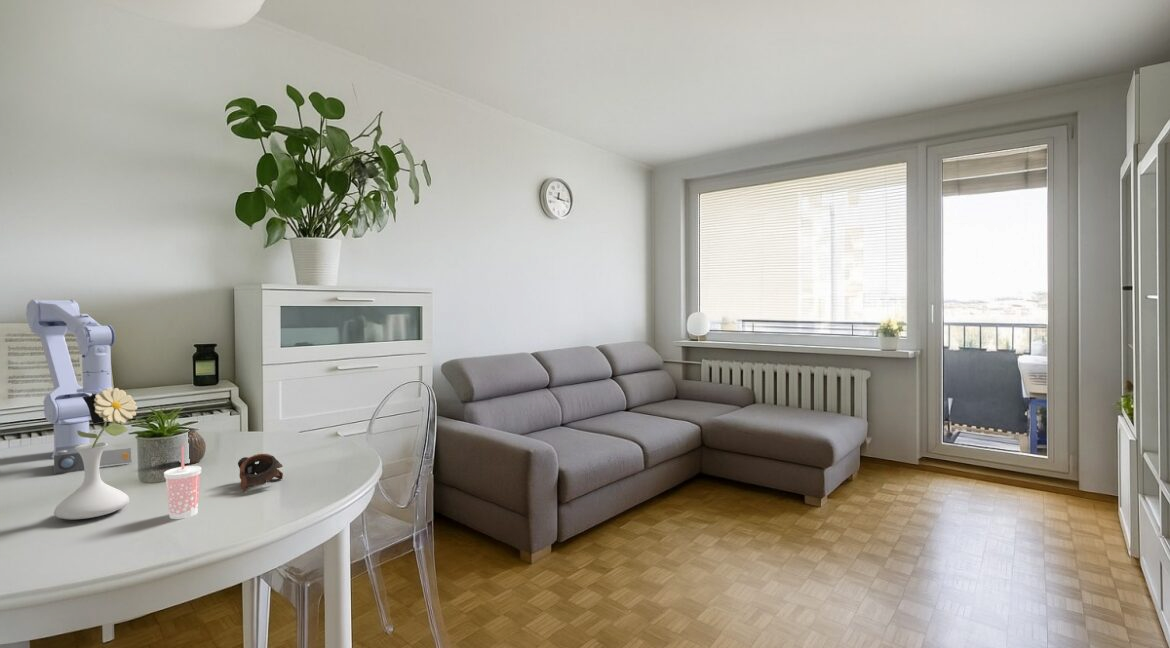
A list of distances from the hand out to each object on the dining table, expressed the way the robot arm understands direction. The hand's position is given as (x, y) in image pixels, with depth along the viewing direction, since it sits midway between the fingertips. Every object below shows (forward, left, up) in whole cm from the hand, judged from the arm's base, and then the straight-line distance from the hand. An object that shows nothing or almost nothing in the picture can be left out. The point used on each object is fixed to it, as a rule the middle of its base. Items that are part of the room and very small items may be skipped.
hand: (98, 422), depth 147 cm
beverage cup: (+59, +13, -10) cm, 61 cm away
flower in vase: (+47, 0, -10) cm, 48 cm away
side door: (+8, +2, -10) cm, 13 cm away
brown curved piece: (+47, +28, -11) cm, 56 cm away
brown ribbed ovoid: (+16, +18, -10) cm, 26 cm away
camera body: (+2, -5, -10) cm, 12 cm away
